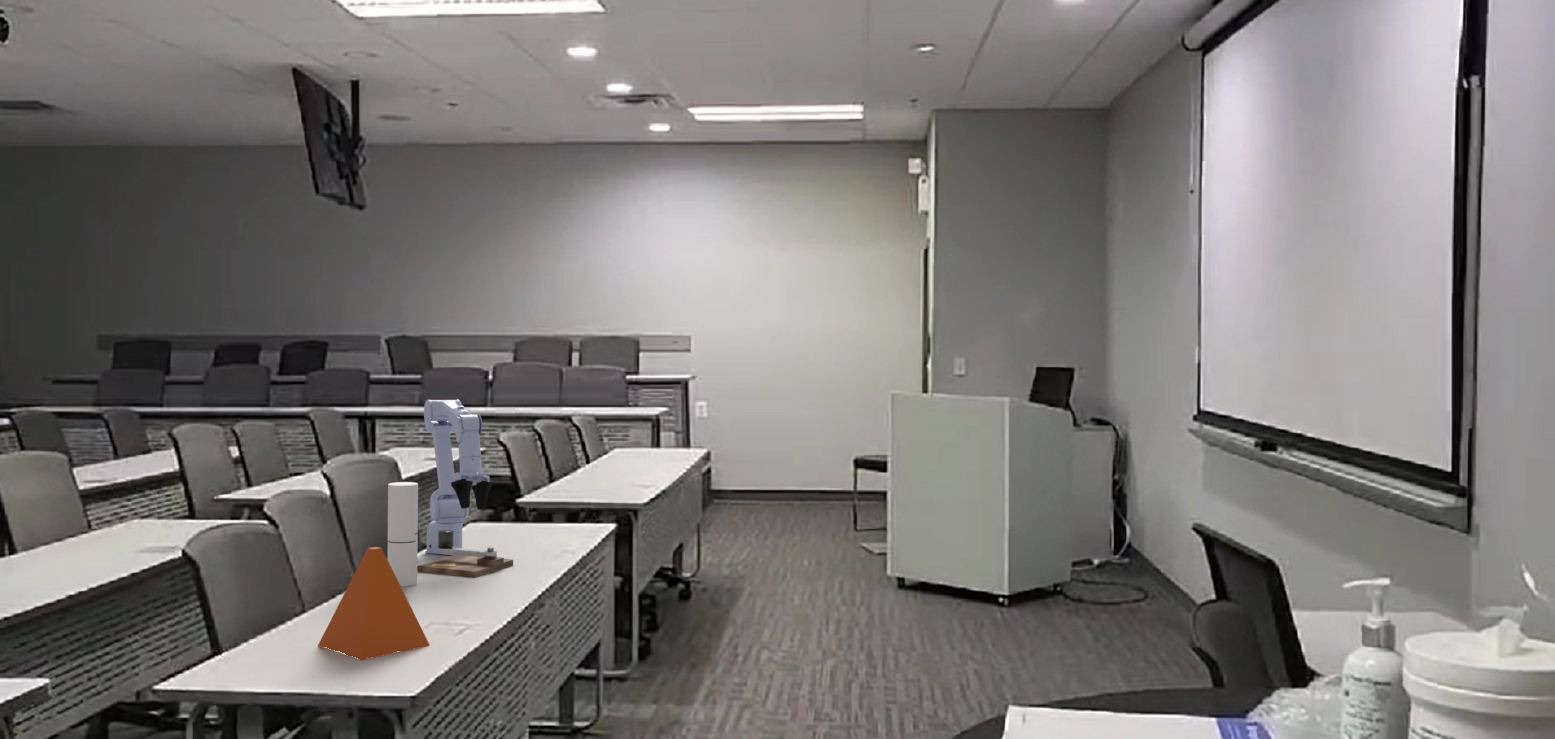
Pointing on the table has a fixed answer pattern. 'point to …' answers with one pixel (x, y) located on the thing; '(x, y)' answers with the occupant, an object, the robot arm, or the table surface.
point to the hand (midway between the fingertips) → (473, 508)
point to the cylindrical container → (403, 531)
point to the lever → (447, 548)
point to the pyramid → (373, 613)
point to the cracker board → (465, 565)
